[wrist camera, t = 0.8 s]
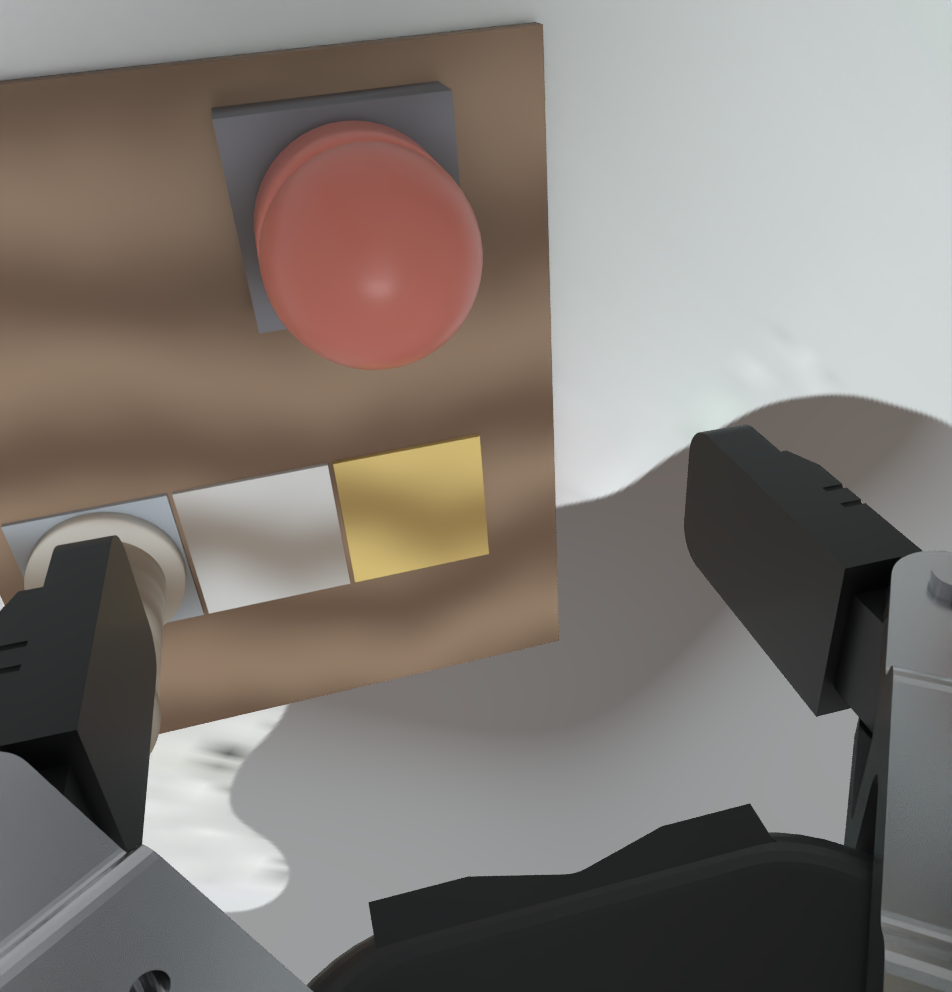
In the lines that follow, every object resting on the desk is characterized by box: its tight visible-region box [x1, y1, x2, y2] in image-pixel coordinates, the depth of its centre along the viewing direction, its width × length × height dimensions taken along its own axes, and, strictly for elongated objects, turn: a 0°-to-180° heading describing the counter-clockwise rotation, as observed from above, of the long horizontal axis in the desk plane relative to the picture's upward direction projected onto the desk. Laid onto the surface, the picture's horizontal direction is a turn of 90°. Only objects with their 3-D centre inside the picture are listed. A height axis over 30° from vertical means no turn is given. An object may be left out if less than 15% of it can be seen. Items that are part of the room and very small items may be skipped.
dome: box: [254, 120, 483, 370], centre depth 24 cm, size 6×6×6 cm
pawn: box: [24, 512, 186, 753], centre depth 30 cm, size 6×6×10 cm
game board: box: [0, 22, 559, 734], centre depth 33 cm, size 26×22×3 cm
